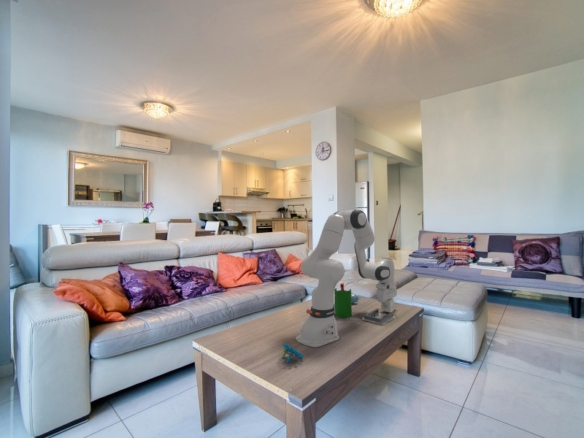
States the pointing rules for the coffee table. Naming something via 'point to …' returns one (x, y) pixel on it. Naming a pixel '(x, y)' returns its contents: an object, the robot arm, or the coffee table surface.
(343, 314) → the motor
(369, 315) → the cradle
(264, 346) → the coffee table surface
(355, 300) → the owl figurine
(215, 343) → the coffee table surface
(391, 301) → the cream rectangular block
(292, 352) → the blue green branched frame
